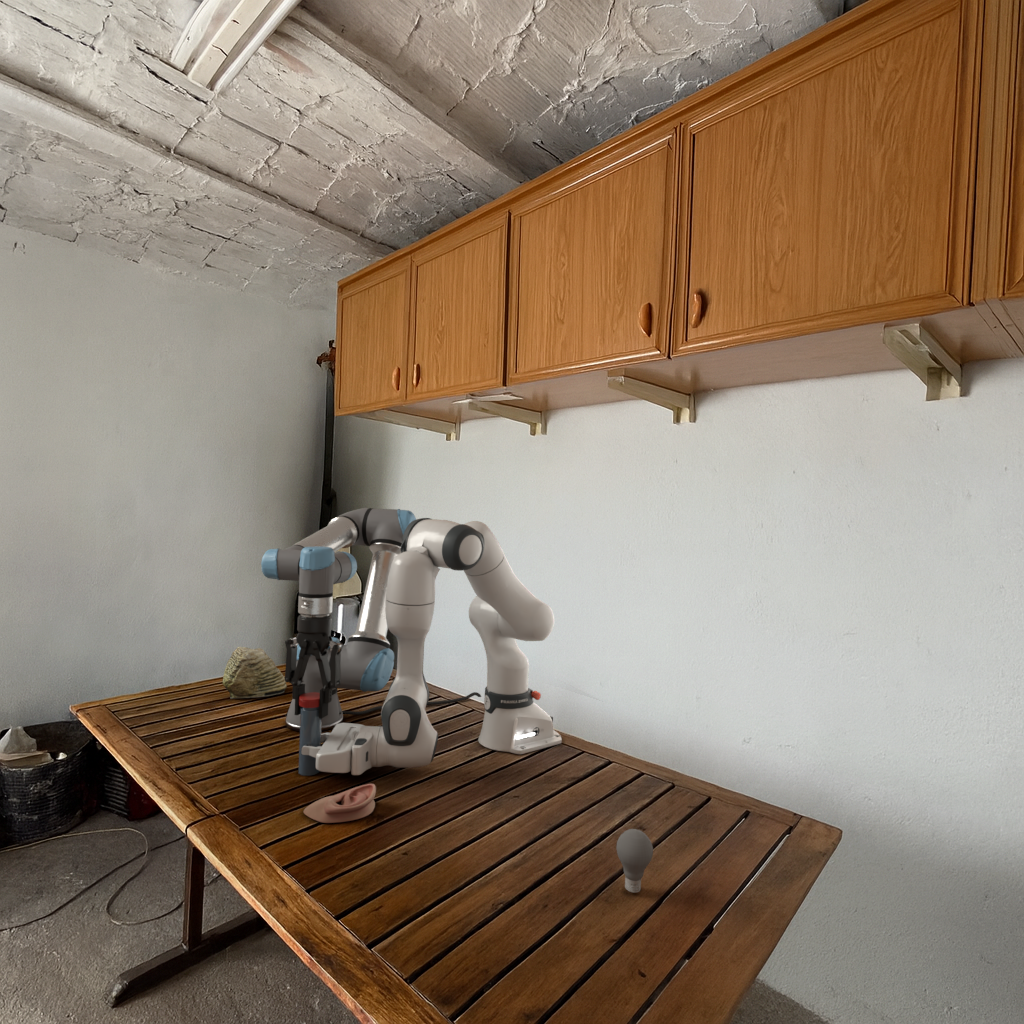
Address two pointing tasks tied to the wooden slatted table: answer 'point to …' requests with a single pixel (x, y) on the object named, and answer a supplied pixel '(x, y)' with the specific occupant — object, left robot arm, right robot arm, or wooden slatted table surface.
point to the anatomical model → (343, 805)
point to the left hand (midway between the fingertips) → (311, 714)
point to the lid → (309, 700)
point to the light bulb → (634, 857)
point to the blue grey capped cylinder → (309, 739)
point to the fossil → (252, 674)
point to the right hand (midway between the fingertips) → (306, 744)
